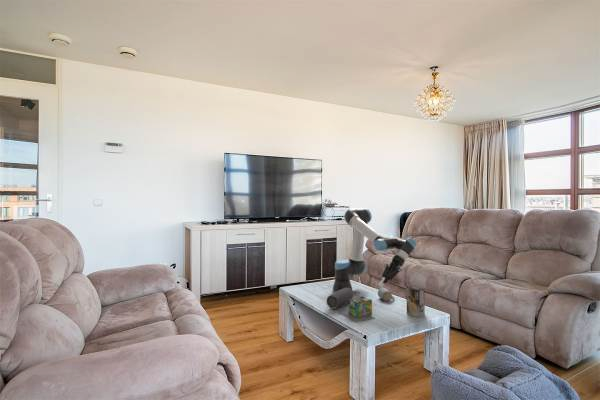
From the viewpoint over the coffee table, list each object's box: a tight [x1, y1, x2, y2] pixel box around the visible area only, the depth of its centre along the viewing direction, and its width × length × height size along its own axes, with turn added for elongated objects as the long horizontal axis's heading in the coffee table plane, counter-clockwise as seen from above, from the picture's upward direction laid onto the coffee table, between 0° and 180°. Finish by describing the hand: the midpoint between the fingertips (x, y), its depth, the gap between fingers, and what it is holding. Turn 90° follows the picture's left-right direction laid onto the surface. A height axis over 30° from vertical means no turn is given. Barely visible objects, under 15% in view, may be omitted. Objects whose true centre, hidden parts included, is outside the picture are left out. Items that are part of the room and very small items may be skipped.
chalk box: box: [346, 296, 373, 318], centre depth 195 cm, size 9×9×15 cm
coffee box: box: [405, 286, 426, 318], centre depth 195 cm, size 9×6×16 cm
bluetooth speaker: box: [326, 288, 354, 309], centre depth 213 cm, size 23×9×10 cm, turn 145°
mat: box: [336, 308, 375, 323], centre depth 195 cm, size 20×14×1 cm
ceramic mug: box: [377, 287, 395, 302], centre depth 225 cm, size 11×8×8 cm
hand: (379, 286), depth 203 cm, fingers closed
